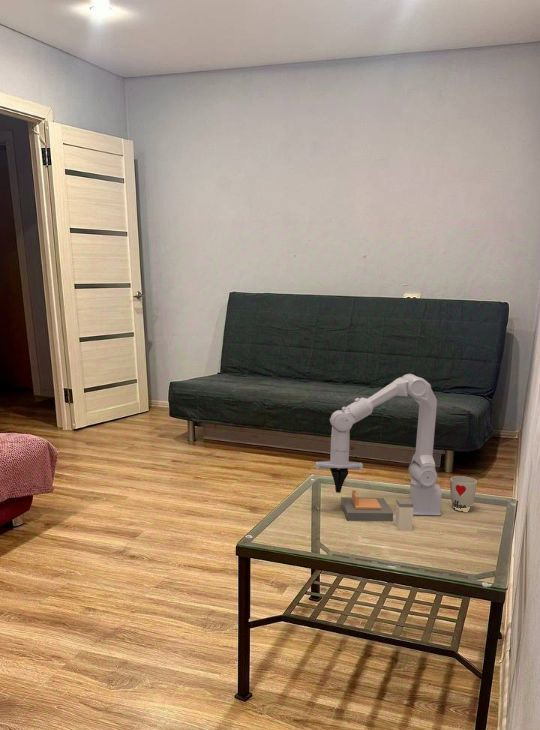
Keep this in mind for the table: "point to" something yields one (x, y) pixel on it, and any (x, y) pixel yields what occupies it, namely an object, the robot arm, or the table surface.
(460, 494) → the cup
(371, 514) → the socket housing
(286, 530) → the table surface
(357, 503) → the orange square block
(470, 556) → the table surface
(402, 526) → the beige rectangular block
